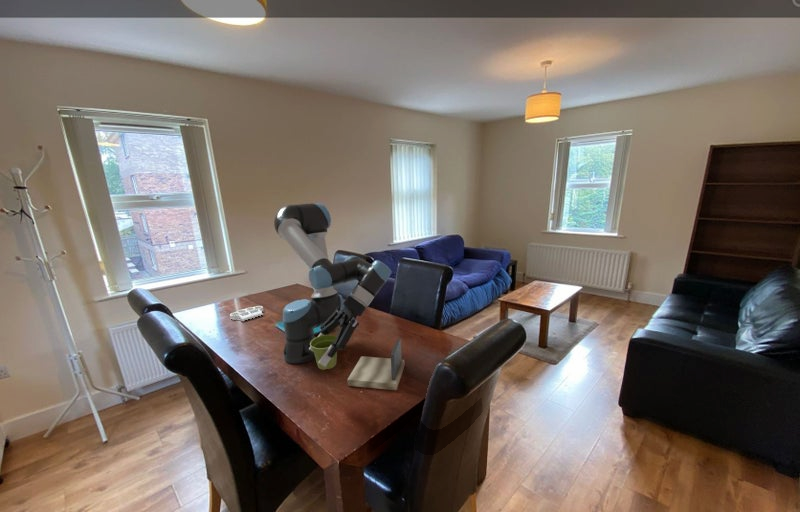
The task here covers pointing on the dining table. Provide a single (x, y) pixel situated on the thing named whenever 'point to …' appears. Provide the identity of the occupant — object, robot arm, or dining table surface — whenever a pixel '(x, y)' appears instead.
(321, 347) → the plant pot
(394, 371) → the bookend
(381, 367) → the shelf board
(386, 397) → the dining table surface
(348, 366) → the dining table surface
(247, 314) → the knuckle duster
